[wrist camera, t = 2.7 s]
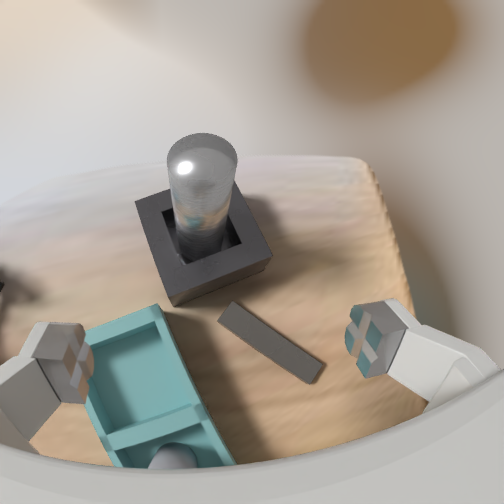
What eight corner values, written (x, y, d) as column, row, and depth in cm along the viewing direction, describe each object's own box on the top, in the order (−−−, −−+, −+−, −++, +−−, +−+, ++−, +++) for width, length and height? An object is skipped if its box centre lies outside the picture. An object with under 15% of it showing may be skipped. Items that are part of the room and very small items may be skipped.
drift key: (318, 364, 26) (322, 364, 25) (305, 383, 25) (309, 384, 24) (231, 303, 27) (232, 300, 26) (216, 322, 26) (217, 320, 25)
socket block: (263, 270, 28) (272, 255, 25) (173, 306, 26) (168, 297, 22) (225, 193, 31) (228, 170, 27) (142, 221, 28) (134, 201, 24)
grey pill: (229, 252, 27) (249, 175, 16) (188, 268, 26) (179, 197, 15) (212, 216, 28) (221, 126, 17) (172, 230, 27) (158, 144, 16)
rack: (244, 476, 21) (258, 509, 14) (156, 506, 18) (145, 542, 12) (162, 310, 25) (149, 293, 19) (76, 343, 23) (40, 335, 16)
